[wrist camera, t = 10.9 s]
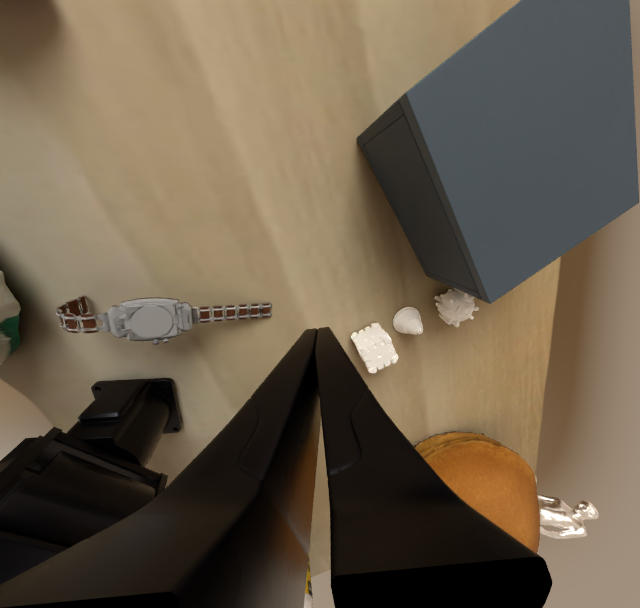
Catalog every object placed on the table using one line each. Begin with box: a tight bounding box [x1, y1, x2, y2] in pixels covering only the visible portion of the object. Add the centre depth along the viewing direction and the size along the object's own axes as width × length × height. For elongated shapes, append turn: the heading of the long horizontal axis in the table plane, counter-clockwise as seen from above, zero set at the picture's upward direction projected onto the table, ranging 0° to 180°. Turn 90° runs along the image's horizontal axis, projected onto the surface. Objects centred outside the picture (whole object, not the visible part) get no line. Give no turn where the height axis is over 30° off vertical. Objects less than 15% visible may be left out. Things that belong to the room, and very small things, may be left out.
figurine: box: [534, 474, 599, 539], centre depth 36 cm, size 8×7×18 cm
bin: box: [357, 99, 482, 300], centre depth 17 cm, size 10×13×7 cm
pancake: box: [415, 431, 540, 553], centre depth 29 cm, size 20×20×5 cm
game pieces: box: [351, 288, 479, 373], centre depth 23 cm, size 12×3×3 cm, turn 116°
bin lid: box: [399, 0, 639, 304], centre depth 13 cm, size 11×13×1 cm
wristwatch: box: [56, 295, 272, 345], centre depth 20 cm, size 4×14×5 cm, turn 83°
